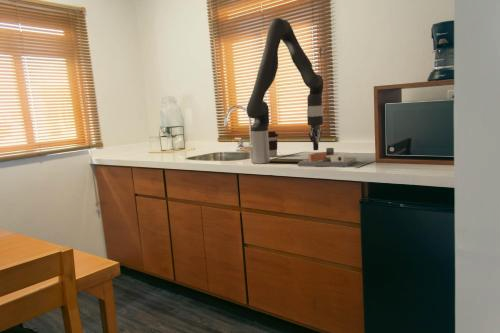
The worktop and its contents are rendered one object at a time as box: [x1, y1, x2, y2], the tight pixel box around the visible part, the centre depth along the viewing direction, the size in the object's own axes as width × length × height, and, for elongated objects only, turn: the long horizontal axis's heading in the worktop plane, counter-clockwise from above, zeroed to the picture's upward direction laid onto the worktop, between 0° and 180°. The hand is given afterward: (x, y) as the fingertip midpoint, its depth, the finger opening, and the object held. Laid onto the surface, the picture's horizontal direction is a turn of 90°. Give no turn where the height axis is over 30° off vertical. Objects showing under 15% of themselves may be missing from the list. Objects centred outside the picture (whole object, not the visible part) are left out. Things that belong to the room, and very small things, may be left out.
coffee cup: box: [268, 130, 279, 158], centre depth 238 cm, size 10×10×15 cm
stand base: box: [297, 154, 357, 168], centre depth 194 cm, size 24×17×5 cm
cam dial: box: [308, 147, 340, 162], centre depth 192 cm, size 17×8×5 cm, turn 122°
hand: (315, 150), depth 198 cm, fingers closed
